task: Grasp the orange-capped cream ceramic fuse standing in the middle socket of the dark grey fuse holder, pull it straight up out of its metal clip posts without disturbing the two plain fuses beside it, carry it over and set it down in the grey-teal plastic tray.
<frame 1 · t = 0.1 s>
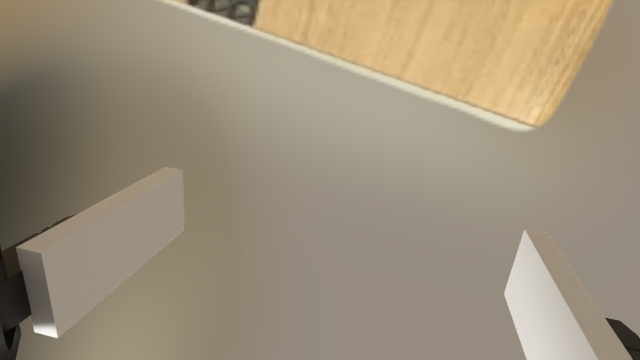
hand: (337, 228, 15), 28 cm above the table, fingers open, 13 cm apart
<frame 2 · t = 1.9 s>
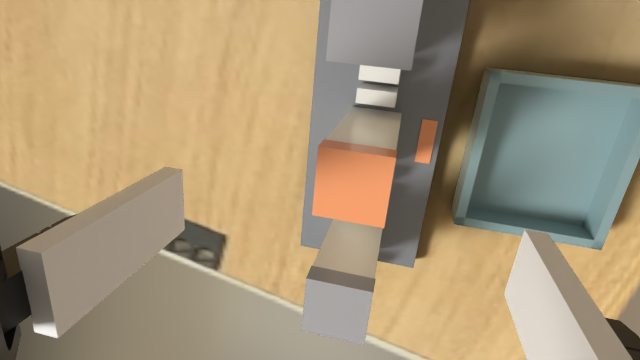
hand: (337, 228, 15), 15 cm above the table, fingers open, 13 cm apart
fuse 1: (360, 225, 30), point 1 cm above the table, touching fuse holder
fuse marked: (373, 133, 27), point 1 cm above the table, touching fuse holder
fuse holder: (374, 129, 28), on the table
fuse 2: (389, 22, 25), point 1 cm above the table, touching fuse holder
tray: (537, 152, 27), on the table
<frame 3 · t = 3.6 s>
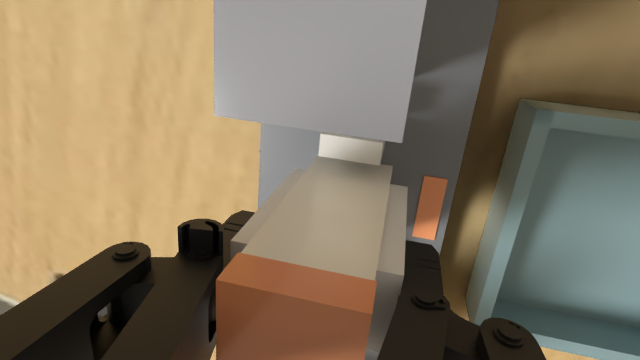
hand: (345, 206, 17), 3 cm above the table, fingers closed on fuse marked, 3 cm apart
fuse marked: (350, 194, 18), point 1 cm above the table, touching fuse holder, gripper
fuse holder: (354, 185, 19), on the table
fuse 2: (372, 29, 16), point 1 cm above the table, touching fuse holder
tray: (597, 226, 18), on the table
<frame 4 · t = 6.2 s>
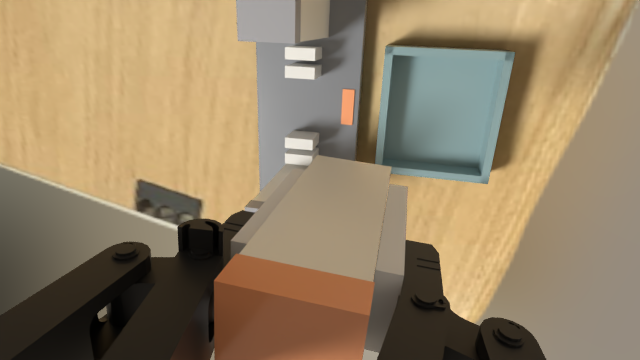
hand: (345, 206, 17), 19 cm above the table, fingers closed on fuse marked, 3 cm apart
fuse 1: (305, 180, 37), point 1 cm above the table, touching fuse holder
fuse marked: (349, 195, 18), point 18 cm above the table, touching gripper
fuse holder: (310, 101, 35), on the table
fuse 2: (308, 13, 32), point 1 cm above the table, touching fuse holder
tray: (436, 111, 33), on the table
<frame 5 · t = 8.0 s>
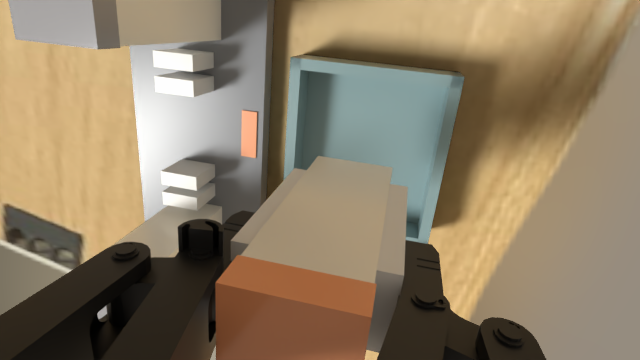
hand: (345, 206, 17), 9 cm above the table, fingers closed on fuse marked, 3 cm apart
fuse 1: (200, 223, 28), point 1 cm above the table, touching fuse holder
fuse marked: (350, 195, 18), point 7 cm above the table, touching gripper
fuse holder: (206, 122, 27), on the table
fuse 2: (193, 6, 23), point 1 cm above the table, touching fuse holder
tray: (366, 146, 25), on the table
when the fingers open (3 cm above the table, at t = 9.1 s): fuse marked drops 1 cm, resting on tray.
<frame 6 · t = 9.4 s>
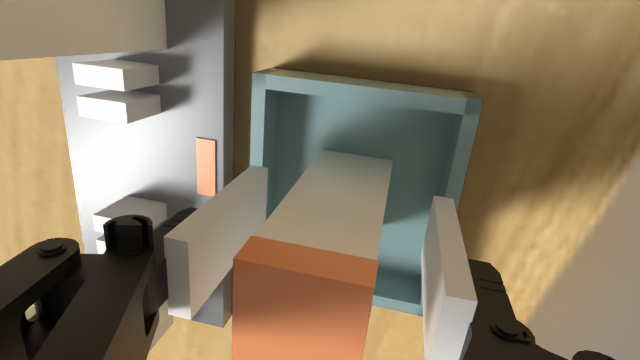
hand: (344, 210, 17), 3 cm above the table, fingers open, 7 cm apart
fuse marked: (352, 187, 19), resting on tray
fuse holder: (156, 150, 22), on the table
fuse 2: (131, 5, 18), point 1 cm above the table, touching fuse holder
tray: (354, 183, 20), on the table
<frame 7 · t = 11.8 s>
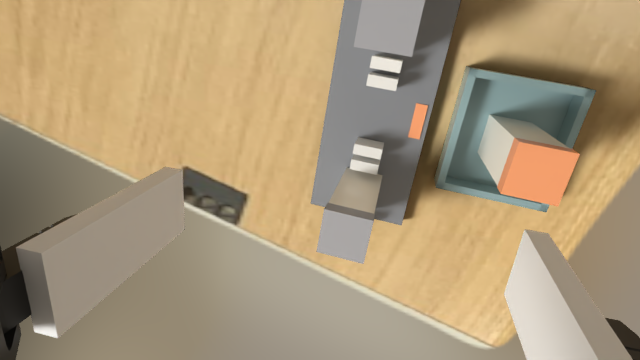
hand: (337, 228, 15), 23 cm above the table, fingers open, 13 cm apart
fuse 1: (360, 187, 37), point 1 cm above the table, touching fuse holder
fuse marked: (503, 137, 34), resting on tray
fuse holder: (377, 110, 36), on the table
fuse 2: (395, 26, 32), point 1 cm above the table, touching fuse holder
tray: (503, 135, 34), on the table
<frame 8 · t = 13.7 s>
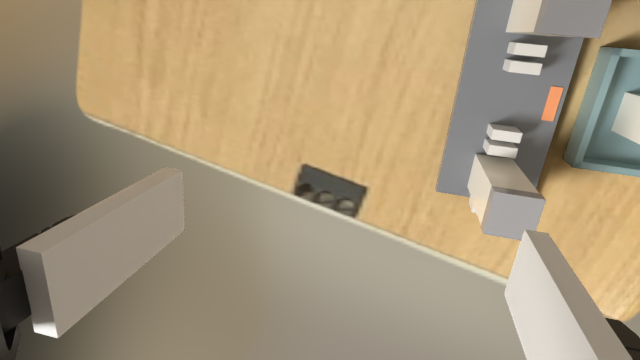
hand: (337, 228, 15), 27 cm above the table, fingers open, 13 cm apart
fuse 1: (489, 172, 38), point 1 cm above the table, touching fuse holder
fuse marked: (639, 114, 34), resting on tray
fuse holder: (506, 96, 37), on the table
fuse 2: (532, 12, 33), point 1 cm above the table, touching fuse holder
tray: (637, 112, 35), on the table
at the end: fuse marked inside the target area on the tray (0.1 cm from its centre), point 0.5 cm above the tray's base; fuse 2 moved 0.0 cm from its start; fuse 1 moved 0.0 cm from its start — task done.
